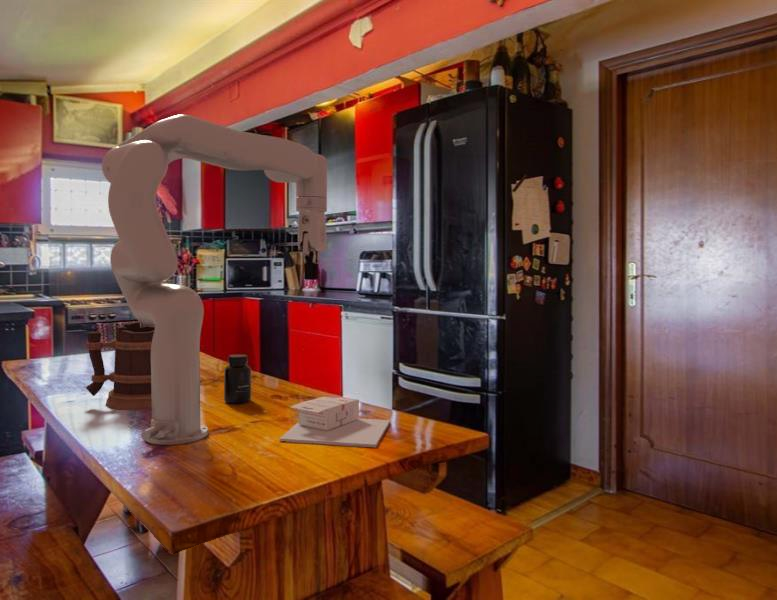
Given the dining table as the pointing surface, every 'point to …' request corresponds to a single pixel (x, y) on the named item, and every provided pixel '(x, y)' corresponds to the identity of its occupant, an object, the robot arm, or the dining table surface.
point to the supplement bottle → (237, 380)
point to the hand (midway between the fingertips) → (311, 279)
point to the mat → (340, 433)
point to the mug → (124, 366)
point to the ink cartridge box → (327, 412)
